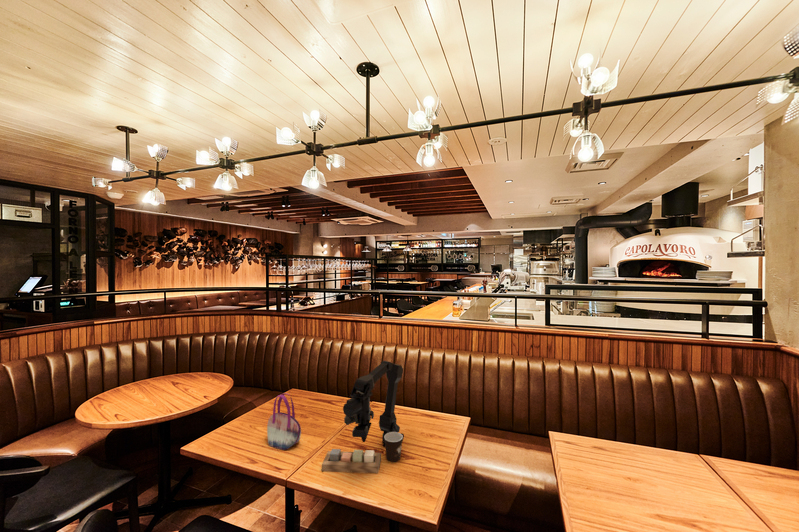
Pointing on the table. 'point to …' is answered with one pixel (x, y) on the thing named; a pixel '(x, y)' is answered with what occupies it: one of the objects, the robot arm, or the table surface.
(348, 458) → the pink cube
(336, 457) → the gray cube
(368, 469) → the key bezel
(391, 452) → the coffee mug
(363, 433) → the robot arm
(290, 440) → the handbag
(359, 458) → the key sage
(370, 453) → the key ivory
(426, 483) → the table surface
